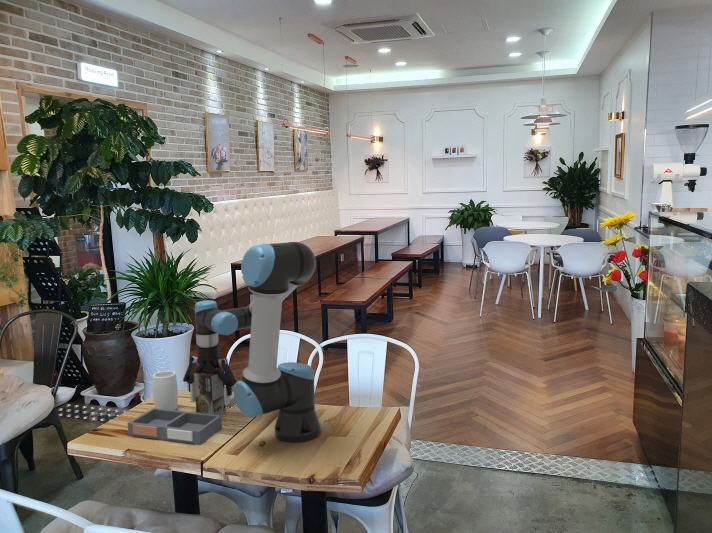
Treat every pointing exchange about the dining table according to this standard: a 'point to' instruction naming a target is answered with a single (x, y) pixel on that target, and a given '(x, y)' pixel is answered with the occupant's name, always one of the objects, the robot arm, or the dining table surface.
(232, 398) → the electrical outlet
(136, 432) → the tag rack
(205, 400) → the coffee box
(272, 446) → the dining table surface
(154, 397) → the cup
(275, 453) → the dining table surface
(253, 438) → the dining table surface
